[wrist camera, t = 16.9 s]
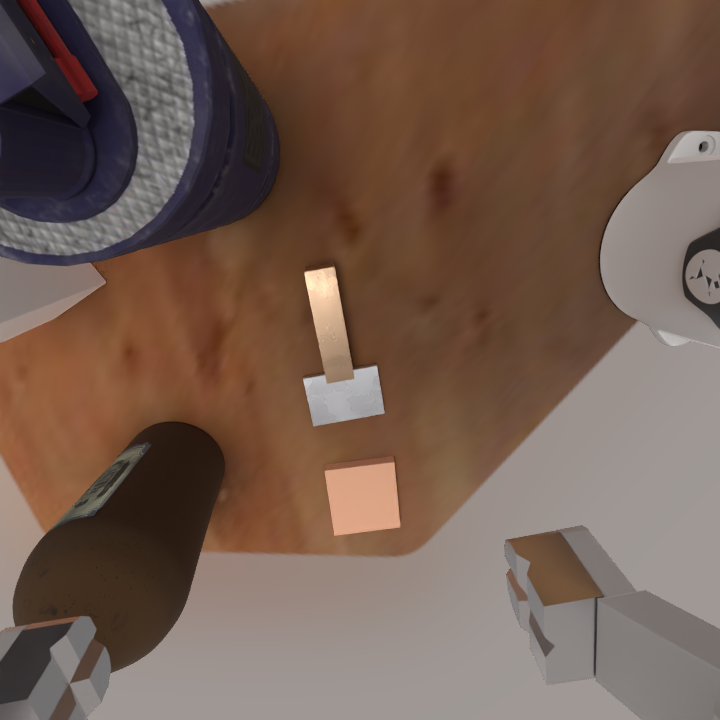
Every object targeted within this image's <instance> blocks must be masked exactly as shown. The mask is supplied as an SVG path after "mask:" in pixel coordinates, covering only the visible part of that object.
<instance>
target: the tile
mask: <svg viewBox="0 0 720 720" xmlns="http://www.w3.org/2000/svg"><path fill="white" fill-rule="evenodd" d="M325 477H326V483H327V490H328V496H329V503H330V509H331V516H332V522H333V529H334V535H343V534H351V533H358V532H366V531H374V530H382V529H390V528H398V527H400V518H399V507H398V496H397V486H396V475H395V464H394V459H393V456H388V457H380V458H372V459H364V460H356V461H349V462H341V463H333V464H325Z"/></svg>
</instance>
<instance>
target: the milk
mask: <svg viewBox="0 0 720 720" xmlns="http://www.w3.org/2000/svg"><path fill="white" fill-rule="evenodd" d="M105 283H106V281H105V279H104V278H103V277H102V276H101V275H100V273H99V272H98V271H97V270H96V269H95V268H94V266H93V265H92V264H91V263H84V264H78V265H72V266H53V265H36V264H26V263H22V262H18V261H15V260H11V259H7V258H4V257H0V343H2V342H4V341H6V340H8V339H11V338H13V337H15V336H17V335H20V334H22V333H24V332H26V331H28V330H31V329H33V328H35V327H37V326H40V325H42V324H44V323H46V322H49V321H51V320H53V319H55V318H56V317H58V316H59V315H61V314H62V313H64V312H65V311H66V310H68V309H69V308H71V307H72V306H74V305H75V304H77V303H78V302H79V301H81V300H82V299H84V298H85V297H87V296H88V295H89V294H91V293H92V292H94V291H95V290H97V289H98V288H100V287H101V286H102V285H104V284H105Z"/></svg>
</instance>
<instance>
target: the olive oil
mask: <svg viewBox="0 0 720 720" xmlns="http://www.w3.org/2000/svg"><path fill="white" fill-rule="evenodd" d="M223 475H224V459H223V455H222V453H221V451H220V449H219V447H218V445H217V444H216V443H215V441H214V440H213V439H212V438H211V437H210V436H209V435H207V434H206V433H205V432H203V431H202V430H200V429H198V428H196V427H193V426H191V425H188V424H183V423H177V422H167V423H160V424H156V425H153V426H151V427H149V428H147V429H145V430H143V431H142V432H141V433H139V434H138V435H137V436H136V437H135V438H134V439H133V440H132V442H131V443H130V444H129V445H128V446H127V447H126V448H125V450H124V451H123V452H122V453H121V454H120V455H119V456H118V457H117V458H116V460H115V461H114V462H113V463H112V464H111V465H110V466H109V467H108V468H107V470H106V471H105V472H104V473H103V474H102V475H101V476H100V477H99V478H98V479H97V480H96V481H95V482H94V484H93V485H92V486H91V487H90V488H89V489H88V490H87V491H86V492H85V493H84V494H83V495H82V497H81V498H80V499H79V500H78V501H77V502H76V503H75V504H74V505H73V506H72V507H71V508H70V509H69V510H68V511H67V512H66V513H65V515H64V516H63V517H62V518H61V519H60V520H59V521H58V522H57V523H56V524H55V525H54V526H53V527H52V528H51V529H50V530H49V531H48V532H47V534H46V535H45V536H44V537H43V538H42V539H41V540H40V541H39V543H38V544H37V545H36V547H35V548H34V550H33V551H32V552H31V554H30V556H29V557H28V559H27V561H26V563H25V565H24V567H23V569H22V571H21V574H20V577H19V579H18V582H17V585H16V588H15V593H14V598H13V618H14V623H15V627H16V626H23V625H30V624H32V623H39V622H45V621H52V620H58V619H65V618H72V617H78V616H87V617H90V618H91V620H92V622H93V623H94V625H95V627H96V629H97V630H96V632H95V635H94V637H93V639H94V640H96V641H97V642H99V643H101V644H102V645H104V646H105V647H106V649H107V652H108V654H109V657H110V664H111V672H110V673H112V672H115V671H117V670H120V669H122V668H124V667H126V666H129V665H131V664H133V663H135V662H136V661H138V660H140V659H141V658H143V657H144V656H146V655H147V654H148V653H150V652H151V651H152V650H153V649H154V648H155V647H156V646H157V645H158V644H159V643H160V642H161V641H162V640H163V639H164V637H165V636H166V635H167V634H168V632H169V631H170V630H171V628H172V627H173V626H174V624H175V623H176V621H177V620H178V618H179V616H180V614H181V613H182V611H183V608H184V606H185V604H186V601H187V598H188V595H189V592H190V588H191V584H192V581H193V577H194V574H195V570H196V566H197V563H198V559H199V555H200V552H201V548H202V545H203V541H204V538H205V534H206V531H207V528H208V524H209V521H210V517H211V514H212V510H213V507H214V504H215V501H216V498H217V495H218V492H219V488H220V485H221V482H222V479H223Z"/></svg>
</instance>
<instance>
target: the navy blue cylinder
mask: <svg viewBox="0 0 720 720" xmlns="http://www.w3.org/2000/svg"><path fill="white" fill-rule="evenodd" d="M278 166H279V139H278V134H277V129H276V124H275V122H274V120H273V117H272V115H271V112H270V110H269V108H268V106H267V104H266V103H265V101H264V100H263V98H262V97H261V95H260V93H259V91H258V89H257V88H256V86H255V85H254V83H253V82H252V80H251V79H250V77H249V76H248V74H247V73H246V71H245V70H244V68H243V67H242V65H241V64H240V62H239V60H238V59H237V57H236V56H235V54H234V53H233V51H232V50H231V48H230V47H229V45H228V44H227V42H226V41H225V39H224V38H223V36H222V35H221V33H220V32H219V30H218V29H217V27H216V26H215V24H214V22H213V21H212V19H211V18H210V16H209V15H208V13H207V12H206V10H205V9H204V7H203V6H202V4H201V3H200V1H199V0H0V257H4V258H7V259H11V260H15V261H18V262H22V263H26V264H36V265H53V266H72V265H78V264H84V263H90V262H97V261H103V260H107V259H110V258H114V257H117V256H121V255H124V254H128V253H131V252H135V251H137V250H140V249H144V248H148V247H152V246H155V245H159V244H162V243H166V242H169V241H173V240H176V239H180V238H183V237H187V236H190V235H194V234H197V233H201V232H204V231H208V230H211V229H215V228H217V227H221V226H224V225H228V224H231V223H233V222H235V221H238V220H240V219H242V218H245V217H246V216H247V215H249V214H250V213H251V212H253V211H254V210H255V209H257V208H258V207H259V205H260V204H261V203H262V202H263V200H264V199H265V198H266V197H267V195H268V194H269V192H270V190H271V188H272V185H273V183H274V181H275V179H276V174H277V170H278Z"/></svg>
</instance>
